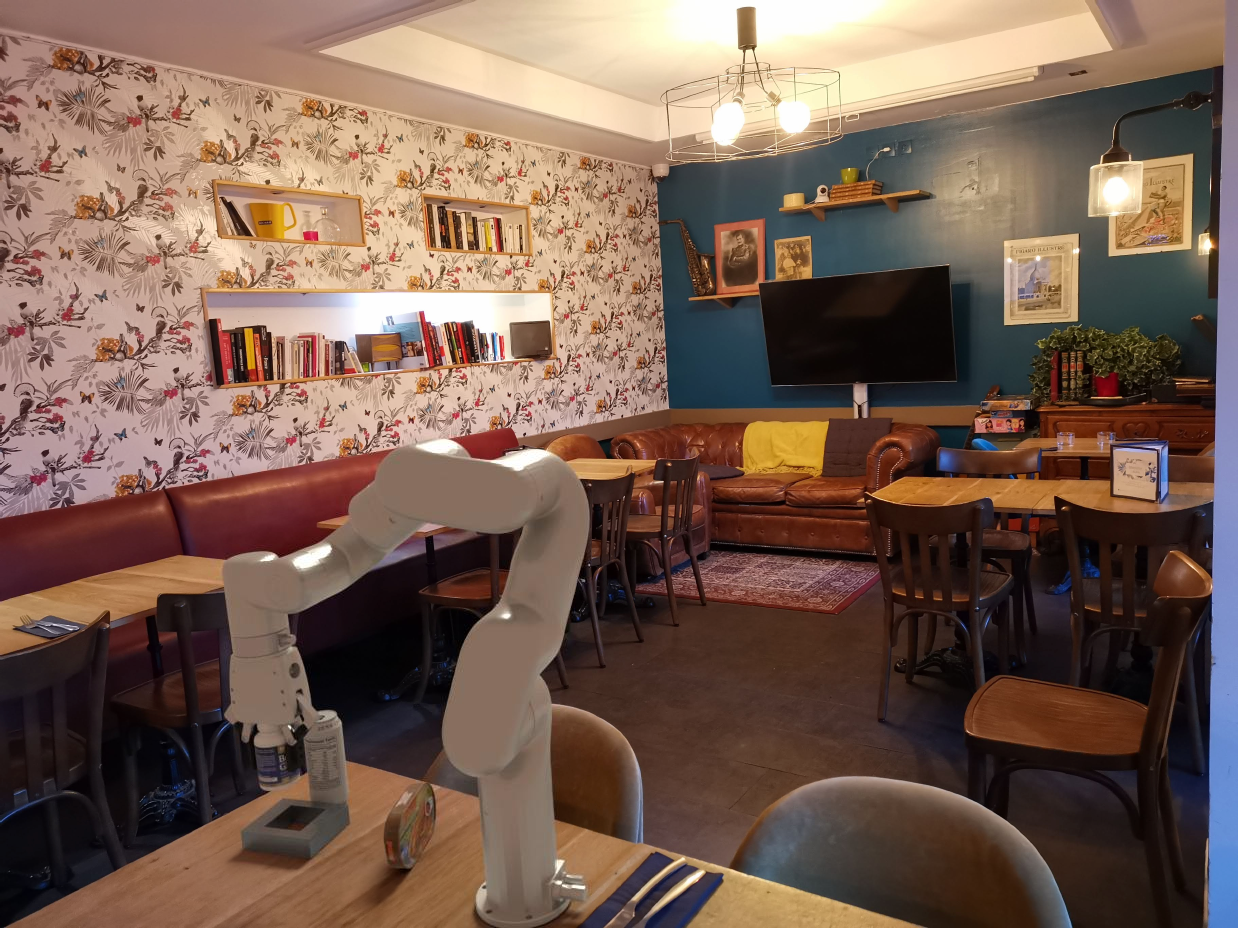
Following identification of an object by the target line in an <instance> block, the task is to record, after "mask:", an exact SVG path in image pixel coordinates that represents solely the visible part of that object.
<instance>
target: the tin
mask: <svg viewBox="0 0 1238 928" xmlns="http://www.w3.org/2000/svg"><path fill="white" fill-rule="evenodd" d="M435 794H436V793H435V791H434V787H433V786H432V785H431V783H430V782H427V781H425V782H423V783H422V782H420V783H412V784H409V785H408V786H407V787H406V788H405V790H404V792H403V793H402V795H400V797H399V799H398V800H397V801H396V803H395V805H394V806H393V807H392V808H391V810H390V812H389V813H388V815H387V817H386V820H385V823H384V828H383V845H384V849H385V856H386V862H387V864H388V866H389V867H390V868H392V869H408V870H409V869H412V868H413V867H414V866H415V865H416V863H417V861H418V860H419V858H420V856H421V855H422V853H423V851H424V850H425V847H426V846H427V844H428V843H429V841H430V839H431V838H432V836H433V833H434V831H435V826H436V820H437V819H436V818H437V803H436V802H437V801H436V800H437V799H436V795H435Z"/></svg>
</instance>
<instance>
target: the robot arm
mask: <svg viewBox="0 0 1238 928" xmlns="http://www.w3.org/2000/svg"><path fill="white" fill-rule="evenodd" d="M348 517H349V519H348V520H347V521H345V522H344V523H343V524H342V525H341V526H339V527H338V528H337V529H336V530H334V531H333V532H332V533H330V534H329V535H328V536H326V537H325V538H324V539H323V540H321V541H319V542H318V543H315V544H313V545H311V546H307V547H304V548H301V549H299V550H296V551H294V552H292V553H290V554H287V555H285V556H282V557H279V556H278V555H277V554H276V553H274V552H271V551H262V550H261V551H253V552H245V553H240V554H238V555H234V556H231V557H229V558H228V559H226V560H225V561H224V563H223V564H222V567H221V575H222V582H223V591H224V597H225V605H226V612H227V619H228V625H229V633H230V641H231V649H232V654H231V655H230V662H229V693H230V702H231V703H230V704H229V706H228V707H227V709H226V711H225V712H224V713H223V714H224V716H223V717H224V718H225V719H226V720H227V721H228V722H229V723H230V724H231V725H233V727H234V728H235V730H236V731H237V732H238V733H239V734H240V735H241V741H242V742H243V743H245V744H246V745H247V753H248V759H249V760H248V761H249V769H250V770H251V771H252V770H253V771H254V770H255V771H256V770H258V769H257V762H256V754H255V747H254V738H255V736H256V735H257V733H259V732H260V731H259V730H258V728H257V724H269V725H280V726H281V728H282V730H283V733H284V735H285V738H286V740H287V742H288V744H287V745H285V756H286V763H287V770H288V772H290V773H293V772H295V771H296V770H297V769H299V770H300V768H301V767H302V766H304V765H305V764H306V754H305V745H304V737H305V736H306V735H307V733H308V732H309V730H310V729H311V728H312V726H314V725H315V723H316V722H317V721H318V720H319V719H320V715H319V714H318V710H316V709H315V708H314V707H313V705H312V698H311V693H310V687H309V682H308V677H307V673H306V669H305V666H304V663H303V660H302V656H301V654H300V652H299V650H298V647H297V646H292V645H295V644H296V642H297V637H296V635H295V634H291V629H290V625H289V624H290V623H289V617H288V615H291V614H297V613H300V612H302V611H306V610H307V609H309V608H311V607H313V606H314V605H317V604H318V603H320V602H323V601H324V600H326V599H328V598H330V597H332V596H334V595H336V594H338V593H340V592H342V591H344V590H345V589H347V588H348V587H349V586H351V585H353V584H354V583H355V582H356V581H358V580H359V579H361V578H362V577H363V576H364V575H366V574H367V573H368V572H370V571H371V570H373V569H374V568H375V567H376V566H378V564H380V563H381V562H382V561H383V560H385V558H387V557H388V556H389V555H390V554H392V553H393V552H394V551H395V549H396V548H397V547H399V546H400V545H401V544H403V543H404V542H405V541H407V539H410V538H411V536H413V535H414V534H415V533H417V532H419V530H421V529H422V528H423V527H424V526H426V525H427V524H430V525H436V526H442V527H447V528H453V529H460V530H466V531H472V532H478V533H484V534H485V533H486V534H504V533H510V532H513V531H516V530H519V529H520V528H522V531H521V532H522V533H521V535H520V537H519V539H518V541H517V542H518V543H517V544H516V547H515V550H514V553H513V555H512V558H511V560H510V561H511V562H510V567H509V572H508V576H507V579H506V582H505V586H504V589H503V592H502V595H501V598H500V600H499V602H498V604H497V605H495V606H494V607H493V608H492V610H491V611H490V612H488V613H487V614H485V615H484V616H483V617H482V618H480V620H478V621H477V622H476V623H475V624H473V626H472V628H471V629H470V631H469V632H468V634H467V636H466V637H465V639H464V642H463V644H462V646H461V649H460V651H459V654H458V655H459V656H458V658H457V662H456V667H455V671H454V675H453V678H452V682H451V687H450V690H449V694H448V699H447V702H446V707H445V711H444V715H443V719H442V727H441V740H442V745H443V749H444V752H445V754H446V757H447V759H448V760H449V763H451V764H452V765H453V766H454V767H455V768H456V770H458V771H460V772H461V773H463V774H465V775H466V776H470V777H473V778H477V790H478V791H477V792H478V794H477V795H478V805H479V815H480V816H479V817H480V819H479V820H480V829H481V841H482V842H481V843H482V853H483V855H482V856H483V864H484V865H483V866H484V876H485V881H484V882H483V883H482V884H481V885H480V887H479V888H478V889H477V892H476V894H475V910H476V912H477V915H478V916H479V917H480V919H481V920H482V921H484V922H485V923H487V924H489V925H491V926H493V927H496V928H534V927H538V926H542V925H544V924H547V923H549V922H551V921H552V920H555V919H556V918H558V917H559V916H560V915H561V914H562V913H563V912H564V911H565V910H566V909H567V907H569V904H570V902H572V901H573V902H579V903H586V902H587V899H588V897H589V896H588V895H589V887H588V886H587V885H585V882H586V878H585V877H586V876H584V875H581V874H579V875H578V874H569V872H567V871H566V865H565V864H566V862H565V860H564V859H558V853H557V839H556V837H557V836H556V825H555V824H556V823H555V812H554V811H555V810H554V798H553V797H554V795H553V781H552V765H551V761H552V760H551V735H552V716H553V713H552V711H553V709H552V699H551V698H552V697H551V694H550V690H549V687H548V685H547V684H546V683H547V682H545V680H544V679H543V677H542V676H541V674H542V672H543V671H544V670H545V669H546V668H547V667H548V665H550V663H551V662H552V661H553V660H554V658H555V657H557V655H558V653H559V651H560V649H561V646H562V643H563V640H564V637H565V636H564V635H565V631H566V628H567V627H566V626H567V623H568V618H569V616H570V615H569V614H570V611H571V607H572V604H573V599H574V595H575V592H576V589H577V588H576V587H577V585H578V584H577V583H578V579H579V575H580V571H581V569H582V568H581V567H582V563H583V559H584V556H585V553H586V547H587V543H588V539H589V532H590V505H589V500H588V497H587V493H586V491H585V487H584V486H583V483H582V482H581V480H580V478H579V476H578V475H577V473H576V472H575V470H573V468H572V467H571V466H570V465H569V464H568V463H567V462H566V461H565V460H564V459H562V458H561V457H560V456H558V455H557V454H555V453H552V452H550V451H549V450H544V449H540V448H529V449H528V448H527V449H522V450H518V451H513V452H511V453H508V454H506V455H503V456H501V457H498V458H495V459H482V458H481V459H480V458H474V457H471V454H470V453H469V452H468V450H466V448H465V447H463V446H462V445H461V444H459V443H458V442H457V441H454V440H452V439H448V438H443V437H442V438H440V437H439V438H438V437H437V438H436V437H435V438H430V439H426V440H422V441H418V442H414V443H410V444H406V445H402V446H400V447H398V448H395V449H394V450H392V451H391V452H389V453H388V454H387V455H385V457H384V458H383V459H382V461H381V462H380V463H379V465H378V467H377V469H376V472H375V476H374V480H373V481H372V482H371V483H369V484H368V485H367V486H366V487H365V488H363V489H362V490H361V491H359V492H357V494H355V495H354V496H353V497H352V499H351V500H350V501H349V505H348ZM300 715H302V717H303V719H304V720H302V718H301V716H300ZM292 726H293V727H292ZM292 728H293V729H292ZM293 730H294V731H293Z"/></svg>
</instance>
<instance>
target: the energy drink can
mask: <svg viewBox="0 0 1238 928" xmlns="http://www.w3.org/2000/svg"><path fill="white" fill-rule="evenodd" d="M317 712H318V714H319V715H320V719H319V720H318V721H317V722H316V723H315V725H314V726H312V728H311V729H310V730H309V732H308V733H307V735H306V736H305V737H304V738H303V742H304V749H305V760H306V762H305V764H306V769H307V770H306V771H307V772H306V773H307V780H308V788H309V796H310V799H309V800H310V801H316V802H325V803H335V804H344V805H345V803H346V801H347V798H348V797H349V793H350V792H349V791H350V790H349V781H348V774H347V771H348V770H347V763H346V752H345V743H344V734H343V723H342V720H341V719H340V718H339V717H338V713H337V712H336V711H335V710H332V709H325V710H319V711H318V710H317Z"/></svg>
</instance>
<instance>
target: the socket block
mask: <svg viewBox="0 0 1238 928" xmlns="http://www.w3.org/2000/svg"><path fill="white" fill-rule="evenodd" d="M349 808H350V807H349V804H345V803H344V804H335V803H325V802H316V801H311V800H305V799H294V798H287V797H286V798H285V797H282V798H281V799H280V800H279V801H278V802H276V803H275V804H273V805H272V806H271V807H270V808H269V809H267V810H266V811H265V812H264V813H262V814H261V815H260V816H258V817H257V818H256V819H255V820H253V821H252V822H251V823H249V824H247V826H246V827H244V828H243V829H241V830H240V836H241V843H242V846H241V847H242V850H243V851H248V852H256V853H264V854H273V855H280V856H287V857H297V858H303V859H312V858H313V857H315V855H317V854H318V853H319V852H320V851H321V850H322V849H324V847H326V846H327V845H328V844H329V843H330V842H331V841H332V840H334V839H335V837H336V836H338V835H339V834H340V833H341V832H342V831H343V830H344V829H345V828H346V827H347V826H348V825H349V824H351V819H350V810H349ZM293 824H299V825H306V826H305V827H304V828H303V829H301V830H295V829H287V828H289V827H290V826H291V825H293Z"/></svg>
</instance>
